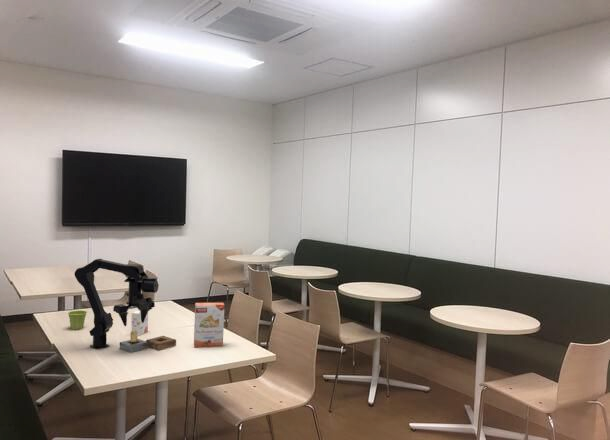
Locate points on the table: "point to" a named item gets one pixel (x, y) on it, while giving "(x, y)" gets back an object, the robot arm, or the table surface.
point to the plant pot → (77, 319)
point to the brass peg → (133, 337)
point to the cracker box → (209, 324)
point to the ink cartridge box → (139, 323)
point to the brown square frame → (161, 342)
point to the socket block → (133, 345)
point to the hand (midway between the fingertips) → (134, 324)
